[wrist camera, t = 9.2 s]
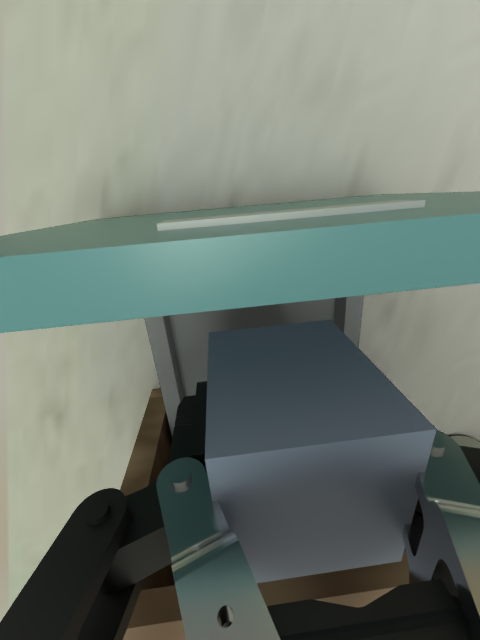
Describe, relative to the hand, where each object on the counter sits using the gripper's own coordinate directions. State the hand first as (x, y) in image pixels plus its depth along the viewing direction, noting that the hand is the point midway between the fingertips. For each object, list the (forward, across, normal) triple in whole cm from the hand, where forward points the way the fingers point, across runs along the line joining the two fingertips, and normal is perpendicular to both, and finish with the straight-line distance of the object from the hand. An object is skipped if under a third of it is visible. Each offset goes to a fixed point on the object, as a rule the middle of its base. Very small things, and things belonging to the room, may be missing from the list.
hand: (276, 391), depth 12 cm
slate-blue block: (+1, 0, 0) cm, 1 cm away
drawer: (+9, 0, 0) cm, 9 cm away
